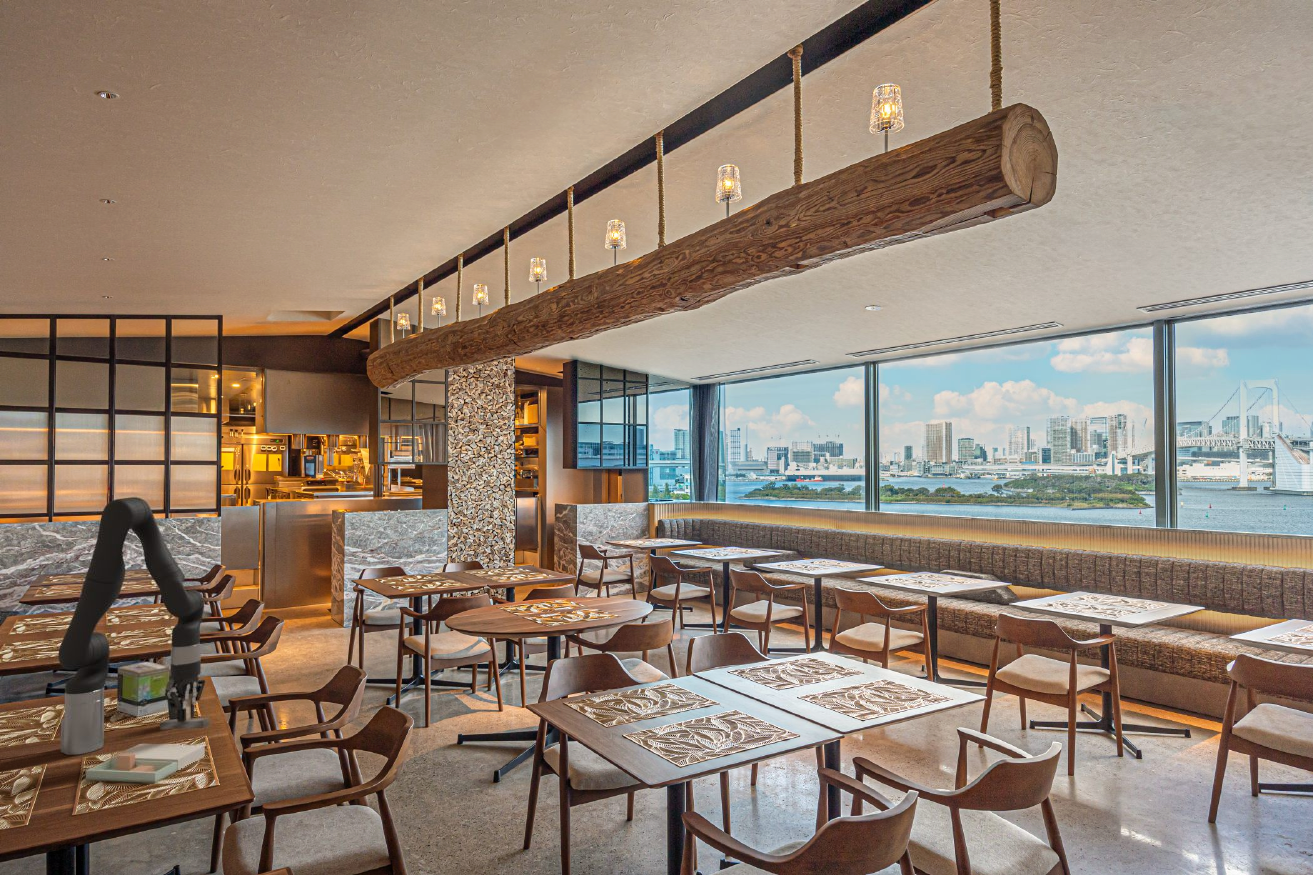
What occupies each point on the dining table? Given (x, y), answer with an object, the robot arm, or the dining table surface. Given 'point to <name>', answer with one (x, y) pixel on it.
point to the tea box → (142, 688)
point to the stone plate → (167, 753)
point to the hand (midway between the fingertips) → (185, 719)
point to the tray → (131, 772)
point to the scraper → (189, 721)
